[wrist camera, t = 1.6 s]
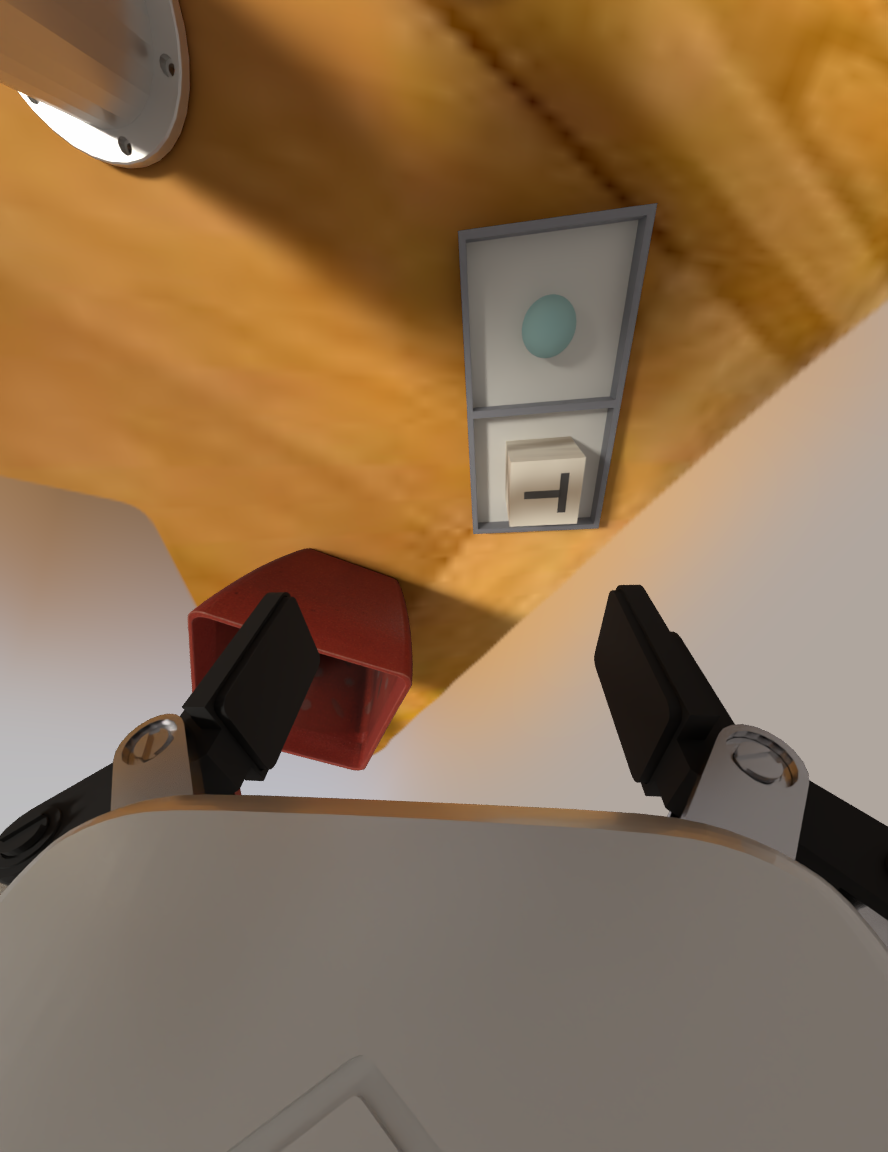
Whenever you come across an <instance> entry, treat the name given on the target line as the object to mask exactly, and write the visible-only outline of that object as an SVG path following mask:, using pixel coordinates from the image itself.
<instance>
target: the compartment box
mask: <svg viewBox="0 0 888 1152" xmlns="http://www.w3.org/2000/svg"><path fill="white" fill-rule="evenodd" d="M656 208H657V203H655V204H647V205H640V206H633V207H626V208H619V209H611V210H604V211H597V212H590V213H583V214H576V215H568V216H561V217H554V218H547V219H540V220H533V221H525V222H518V223H511V224H504V225H497V226H490V227H482V228H475V229H468V230H461V231H458V239H459V259H460V278H461V298H462V318H463V338H464V358H465V378H466V397H467V417H468V437H469V457H470V477H471V497H472V516H473V534H482V533H505V532H527V531H549V530H571V529H594V528H599V522H600V517H601V511H602V506H603V500H604V495H605V489H606V483H607V478H608V472H609V467H610V461H611V456H612V450H613V445H614V439H615V434H616V428H617V423H618V417H619V412H620V406H621V401H622V395H623V390H624V384H625V379H626V373H627V368H628V362H629V357H630V351H631V346H632V340H633V335H634V329H635V324H636V318H637V313H638V307H639V301H640V296H641V290H642V285H643V279H644V274H645V268H646V263H647V257H648V252H649V246H650V241H651V235H652V230H653V224H654V219H655V213H656ZM550 294H556V295H560V296H563V297H565V298H566V299H568V300H569V301H570V303H571V304H572V305H573V308H574V310H575V313H576V330H575V333H574V336H573V338H572V340H571V342H570V343H569V345H568V346H567V347H566V348H565V349H564V350H563V351H562V352H561V353H559V354H558V355H556V356H554V357H551V358H539V357H536V356H534V355H533V354H531V353H530V352H529V351H528V350H527V348H526V347H525V345H524V342H523V339H522V324H523V320H524V317H525V315H526V313H527V311H528V309H529V308H530V307H531V305H532V304H533V303H534V302H535V301H537V300H538V299H539V298H541V297H543V296H546V295H550ZM569 436H571V438H572V439H573V440H574V442H575V443H576V445H577V446H578V447H579V449H580V450H581V451H582V453H583V454H584V455H585V457H586V462H585V469H584V476H583V483H582V490H581V497H580V505H579V512H578V519H577V524H557V525H536V526H514V527H510V526H509V519H508V513H507V507H506V500H505V484H506V441H514V440H528V439H542V438H555V437H569Z"/></svg>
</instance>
